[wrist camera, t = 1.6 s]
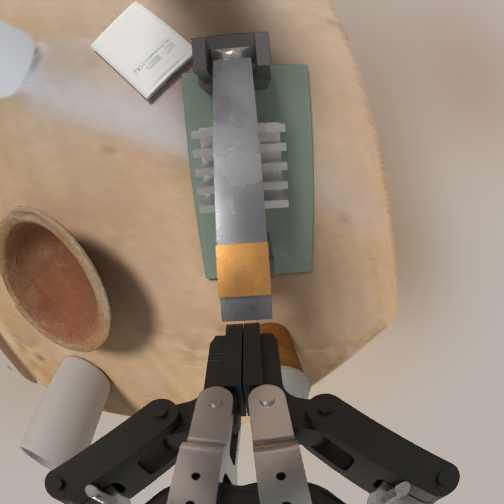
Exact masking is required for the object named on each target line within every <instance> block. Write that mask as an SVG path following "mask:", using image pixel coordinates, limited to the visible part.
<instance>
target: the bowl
mask: <svg viewBox="0 0 504 504" xmlns="http://www.w3.org/2000/svg"><path fill="white" fill-rule="evenodd" d="M0 273H1V276H2V279H3V282H4V284H5V286H6V288H7V291H8V293H9V294H10V296H11V298H12V300H13V301H14V303H15V306H16V308H17V309H18V310H19V312H20V313H21V314H22V315H23V316H24V318H25V319H26V320H27V321H28V322H30V323H31V324H32V325H33V326H34V327H35V328H36V329H37V330H38V331H39V332H40V333H42V334H43V335H44V336H46V337H47V338H48V339H50V340H51V341H53V342H55V343H56V344H58V345H60V346H62V347H65V348H68V349H71V350H75V351H82V352H90V351H93V350H96V349H98V348H100V347H101V346H103V345H104V344H105V342H106V341H107V340H108V337H109V335H110V332H111V325H112V313H111V306H110V302H109V299H108V295H107V292H106V289H105V287H104V284H103V282H102V280H101V278H100V276H99V274H98V272H97V270H96V268H95V266H94V264H93V263H92V261H91V259H90V258H89V256H88V255H87V253H86V252H85V251H84V249H83V248H82V246H81V245H80V244H79V242H78V241H77V240H76V239H75V238H74V237H73V235H72V234H71V233H70V232H69V231H68V230H67V229H66V228H65V227H64V226H62V225H61V224H60V223H59V222H58V221H57V220H55V219H54V218H52V217H51V216H49V215H48V214H46V213H44V212H42V211H40V210H37V209H34V208H29V207H22V206H18V207H14V208H12V209H11V210H9V211H8V212H7V213H6V215H5V216H4V217H3V219H2V221H1V222H0Z"/></svg>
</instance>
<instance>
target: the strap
mask: <svg viewBox="0 0 504 504" xmlns="http://www.w3.org/2000/svg"><path fill="white" fill-rule="evenodd" d="M209 63H210V67H213V158H214V191H215V216H216V237H217V245H216V263H217V279H218V293H219V298H220V301H221V314H222V322H225V321H245V320H261V319H272V303H271V280H270V266H269V251H268V242H267V230H266V217H265V204H264V192H263V180H262V168H261V156H260V145H259V134H258V123H257V112H256V102H255V92H254V82H253V72H252V64H255V53H254V46H251V47H236V48H225V49H216V50H209Z"/></svg>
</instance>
